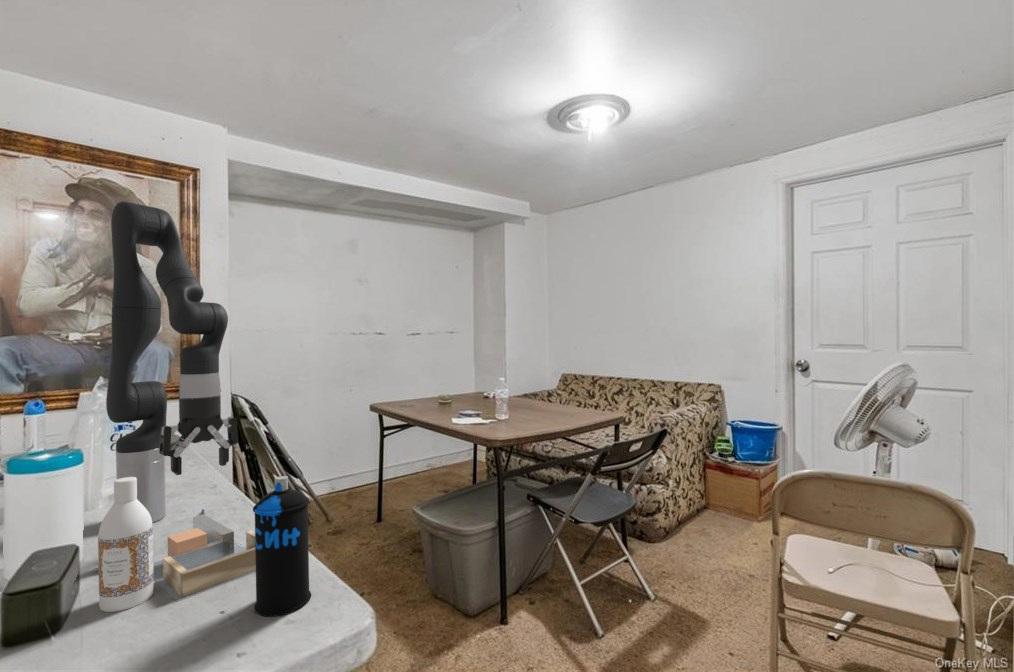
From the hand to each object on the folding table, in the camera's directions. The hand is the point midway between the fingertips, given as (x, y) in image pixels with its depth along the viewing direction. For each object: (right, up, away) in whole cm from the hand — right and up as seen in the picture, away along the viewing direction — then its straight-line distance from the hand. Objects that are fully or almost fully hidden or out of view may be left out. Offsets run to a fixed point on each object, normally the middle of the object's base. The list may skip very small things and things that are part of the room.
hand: (200, 469), depth 101 cm
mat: (+10, -15, -12) cm, 22 cm away
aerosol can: (+30, -14, -26) cm, 42 cm away
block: (+5, -15, -11) cm, 19 cm away
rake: (+2, -15, -7) cm, 16 cm away
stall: (+13, -15, -15) cm, 25 cm away
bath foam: (+4, -15, -24) cm, 29 cm away
